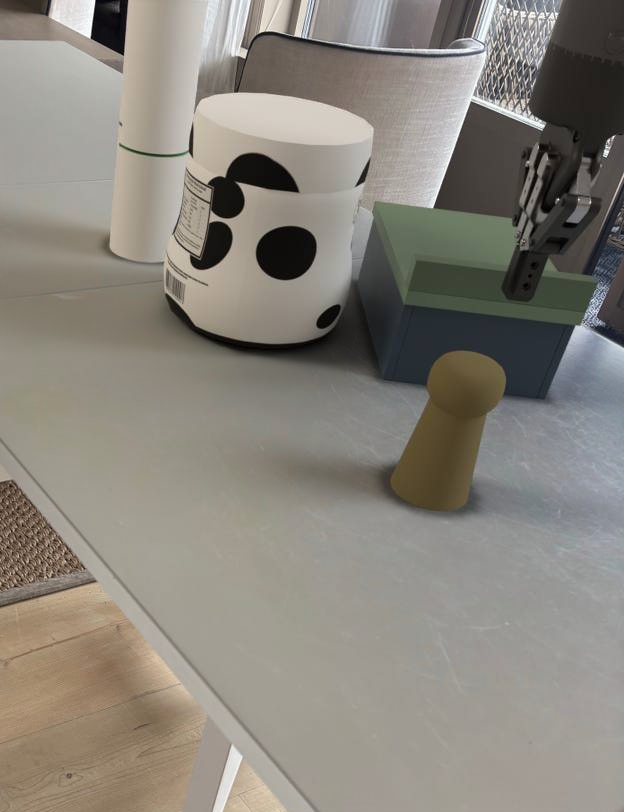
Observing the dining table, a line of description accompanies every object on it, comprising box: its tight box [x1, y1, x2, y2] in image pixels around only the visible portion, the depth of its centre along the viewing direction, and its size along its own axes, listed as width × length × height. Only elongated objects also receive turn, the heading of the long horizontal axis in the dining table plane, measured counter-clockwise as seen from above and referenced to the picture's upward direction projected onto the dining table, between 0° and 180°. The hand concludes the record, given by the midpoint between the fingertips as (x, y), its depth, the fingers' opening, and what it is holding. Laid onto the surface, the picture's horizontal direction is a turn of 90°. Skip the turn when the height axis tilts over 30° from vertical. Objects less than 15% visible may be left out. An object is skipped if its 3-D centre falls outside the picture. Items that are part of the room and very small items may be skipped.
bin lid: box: [371, 200, 599, 327], centre depth 88 cm, size 15×22×4 cm
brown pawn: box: [389, 351, 506, 512], centre depth 70 cm, size 6×6×11 cm
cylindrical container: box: [109, 0, 209, 264], centre depth 95 cm, size 7×7×25 cm
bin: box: [356, 217, 576, 400], centre depth 92 cm, size 15×22×8 cm
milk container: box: [163, 92, 375, 350], centre depth 87 cm, size 17×17×18 cm
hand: (515, 296), depth 76 cm, fingers closed
